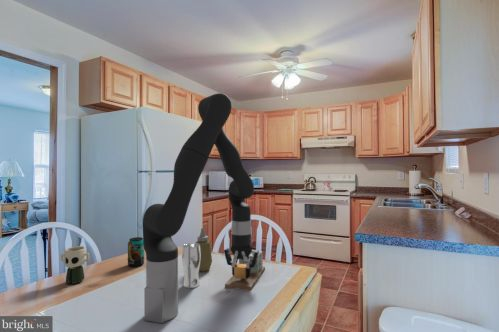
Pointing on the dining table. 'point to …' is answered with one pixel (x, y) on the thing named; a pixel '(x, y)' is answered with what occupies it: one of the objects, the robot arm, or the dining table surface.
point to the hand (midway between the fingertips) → (241, 276)
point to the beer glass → (191, 264)
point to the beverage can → (135, 252)
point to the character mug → (75, 263)
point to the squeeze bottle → (204, 251)
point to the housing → (251, 281)
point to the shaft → (240, 270)
